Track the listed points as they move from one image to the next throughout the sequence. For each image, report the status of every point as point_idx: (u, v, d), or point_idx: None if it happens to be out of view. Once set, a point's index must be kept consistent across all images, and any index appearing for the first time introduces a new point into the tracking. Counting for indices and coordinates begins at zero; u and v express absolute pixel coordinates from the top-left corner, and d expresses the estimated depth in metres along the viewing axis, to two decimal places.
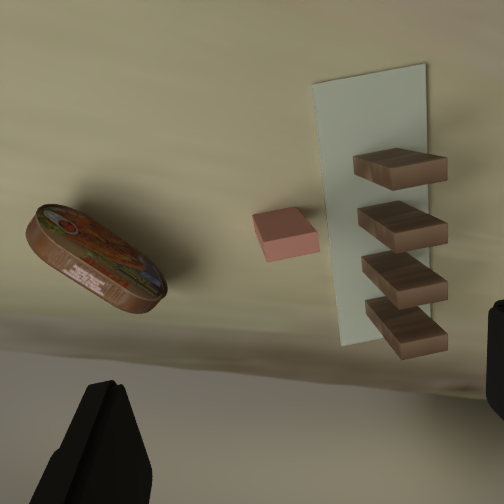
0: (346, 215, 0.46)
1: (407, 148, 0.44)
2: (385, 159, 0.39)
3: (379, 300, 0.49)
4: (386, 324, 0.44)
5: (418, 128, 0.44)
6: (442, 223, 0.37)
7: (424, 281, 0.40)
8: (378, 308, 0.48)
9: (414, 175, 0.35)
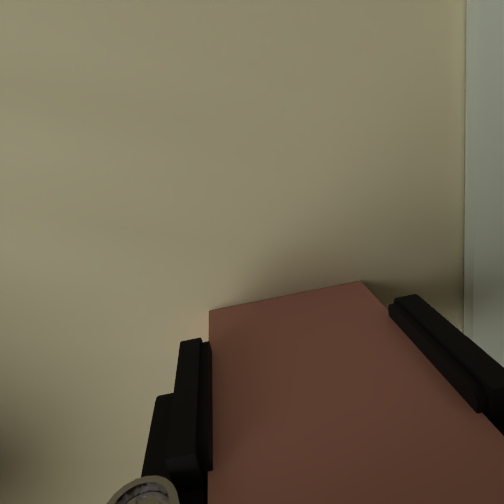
0: None
1: None
2: None
3: None
4: None
5: None
6: None
7: None
8: None
9: None
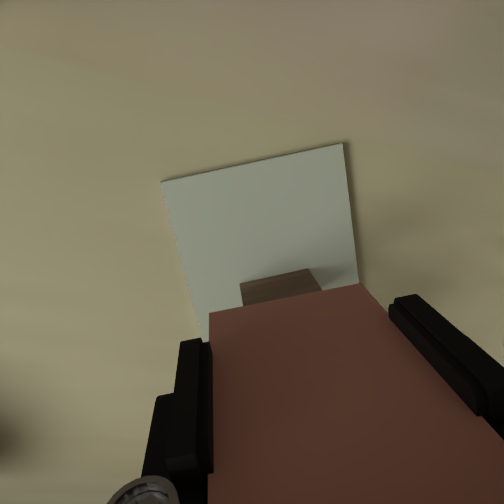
0: None
1: (325, 268, 0.28)
2: None
3: None
4: None
5: (340, 239, 0.28)
6: None
7: None
8: None
9: None
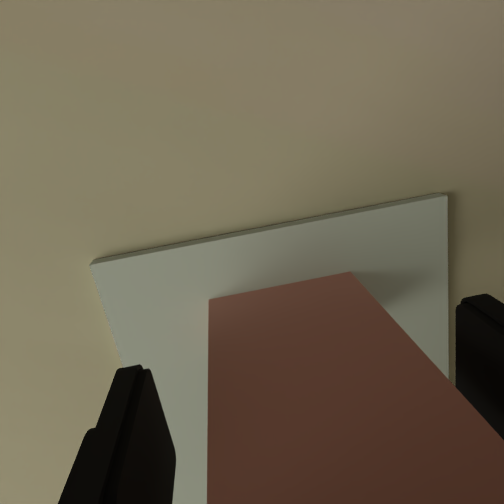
0: None
1: None
2: None
3: None
4: None
5: None
6: None
7: None
8: None
9: None
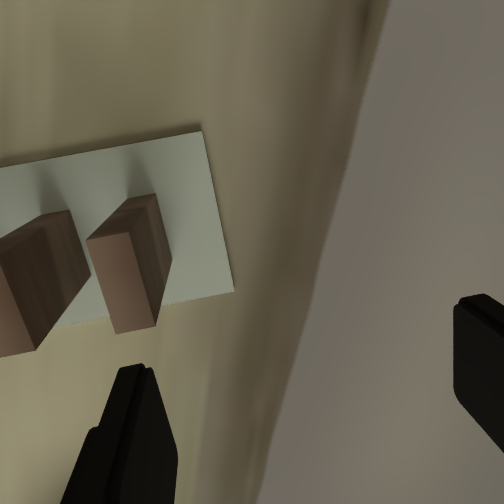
0: None
1: None
2: None
3: None
4: None
5: None
6: None
7: None
8: None
9: None
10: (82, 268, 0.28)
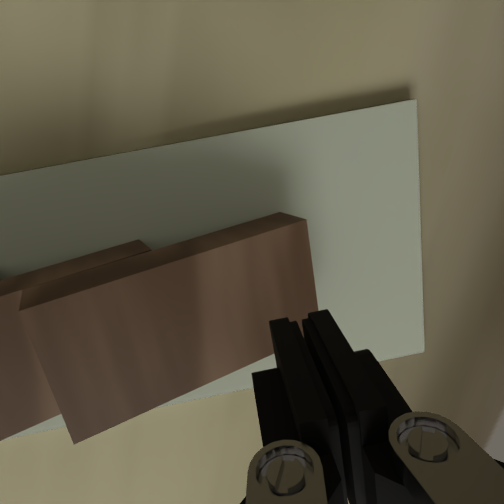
0: None
1: None
2: None
3: None
4: None
5: None
6: None
7: None
8: None
9: None
10: None
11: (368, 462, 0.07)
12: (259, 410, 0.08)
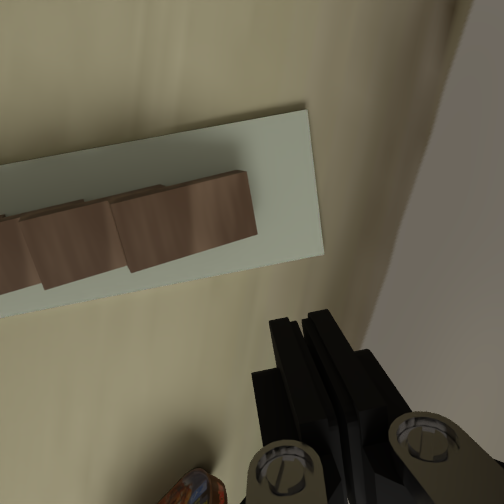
0: (117, 270, 0.33)
1: (8, 195, 0.30)
2: None
3: None
4: None
5: None
6: None
7: None
8: None
9: None
10: None
11: (368, 462, 0.07)
12: (259, 410, 0.08)
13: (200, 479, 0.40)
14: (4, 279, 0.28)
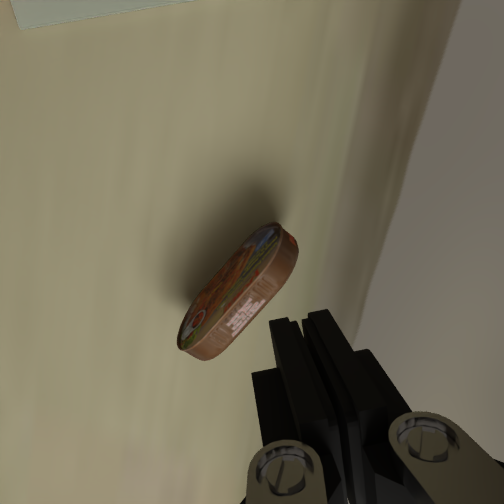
0: None
1: None
2: None
3: None
4: None
5: None
6: None
7: None
8: None
9: None
10: None
11: (368, 462, 0.07)
12: (259, 410, 0.08)
13: (264, 233, 0.38)
14: None
